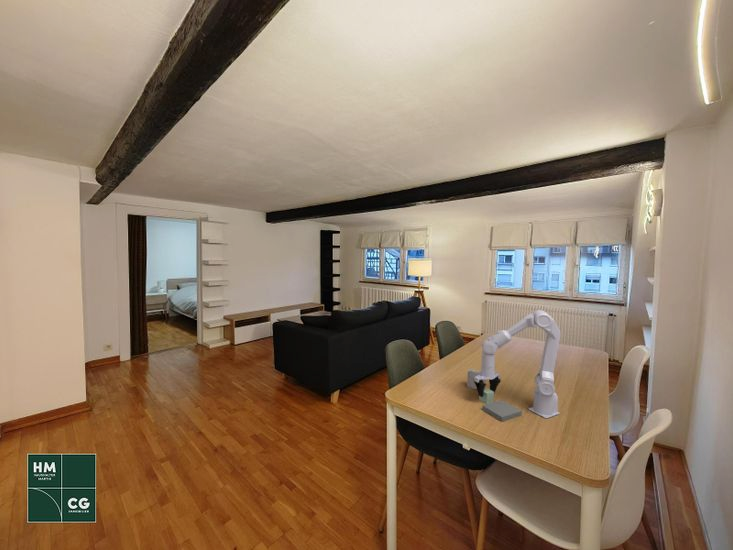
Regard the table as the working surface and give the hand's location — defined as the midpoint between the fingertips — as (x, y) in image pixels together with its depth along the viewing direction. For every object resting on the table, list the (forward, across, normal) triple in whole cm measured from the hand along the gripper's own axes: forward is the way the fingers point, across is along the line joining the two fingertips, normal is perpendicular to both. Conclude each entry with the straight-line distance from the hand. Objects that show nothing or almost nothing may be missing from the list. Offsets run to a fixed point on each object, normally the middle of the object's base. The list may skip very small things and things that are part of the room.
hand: (486, 394), depth 132 cm
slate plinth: (+3, +2, +10) cm, 11 cm away
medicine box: (+3, -6, -12) cm, 14 cm away
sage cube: (+3, 0, 0) cm, 3 cm away
